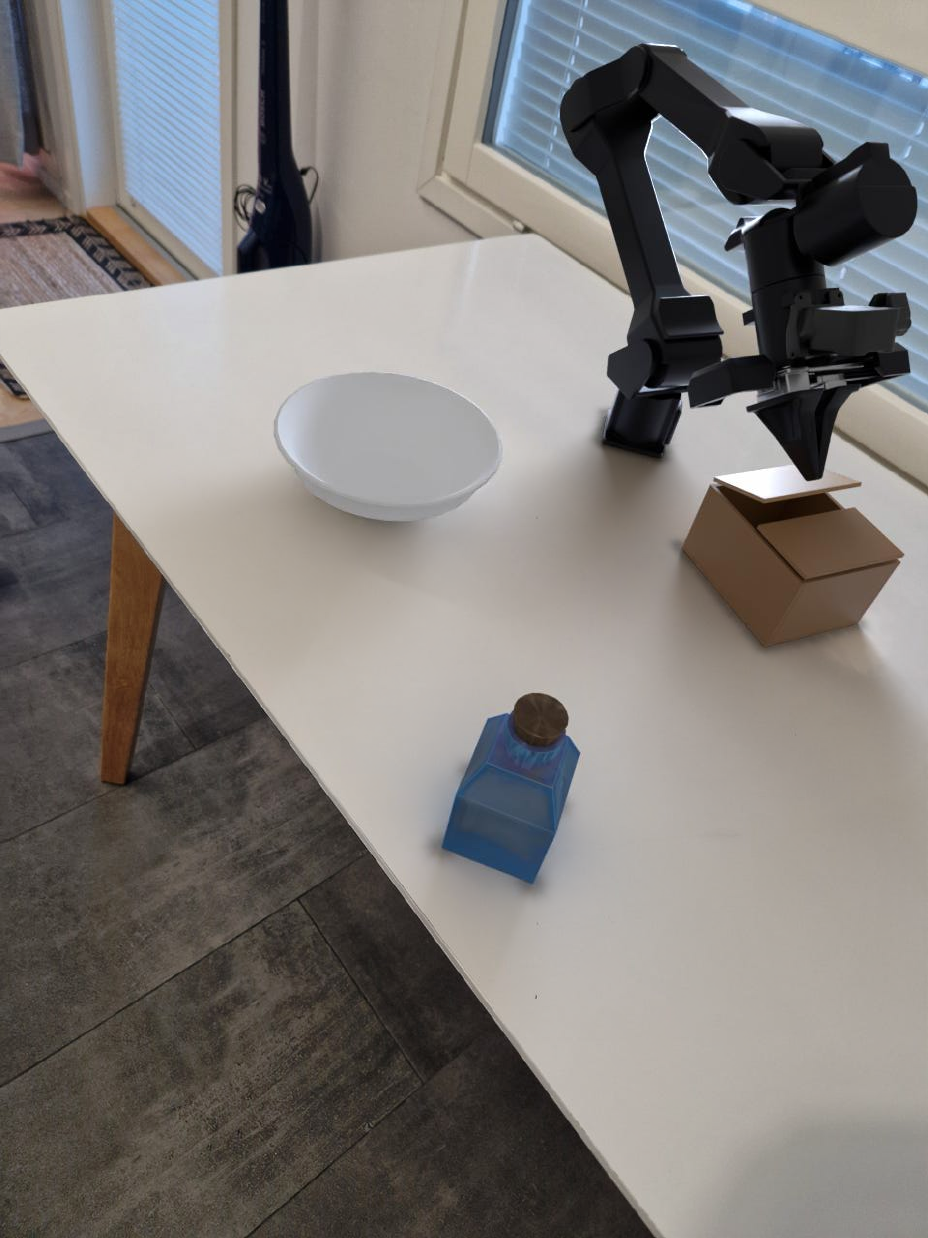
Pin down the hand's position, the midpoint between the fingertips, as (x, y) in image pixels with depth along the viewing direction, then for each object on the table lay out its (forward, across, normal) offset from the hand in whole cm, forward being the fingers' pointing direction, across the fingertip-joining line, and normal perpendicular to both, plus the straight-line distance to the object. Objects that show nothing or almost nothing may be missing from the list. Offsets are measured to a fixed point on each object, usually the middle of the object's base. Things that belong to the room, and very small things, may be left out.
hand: (814, 480), depth 71 cm
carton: (+8, 0, +7) cm, 11 cm away
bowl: (-6, -30, +22) cm, 37 cm away
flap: (0, 0, +3) cm, 3 cm away
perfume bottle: (+19, -34, -3) cm, 39 cm away
